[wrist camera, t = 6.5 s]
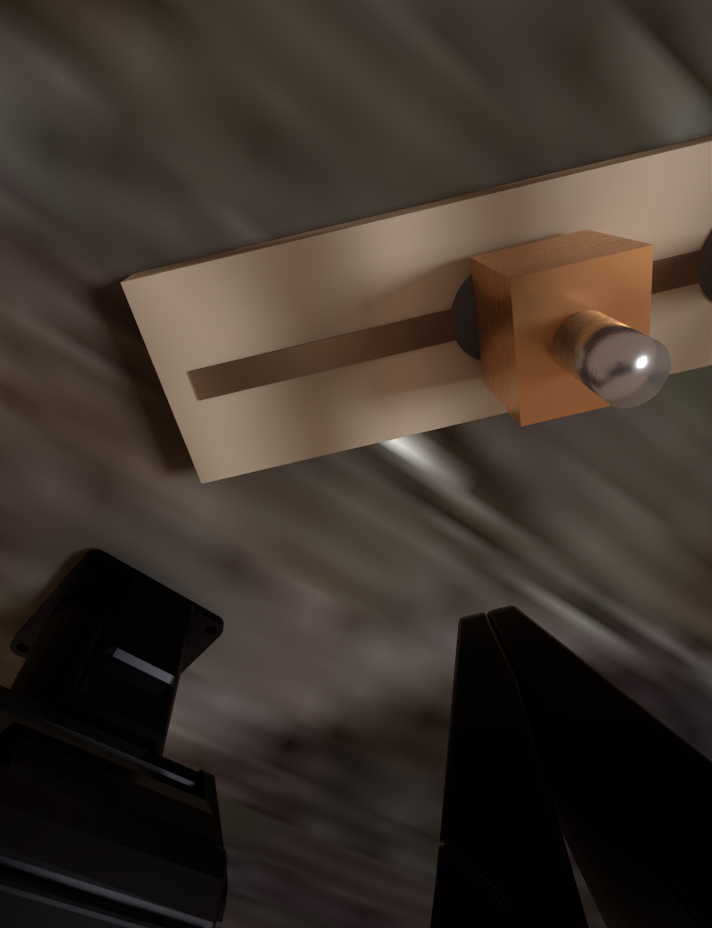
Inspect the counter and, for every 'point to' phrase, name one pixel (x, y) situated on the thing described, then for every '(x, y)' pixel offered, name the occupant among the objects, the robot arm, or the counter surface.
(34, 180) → the counter surface
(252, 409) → the bolt plate
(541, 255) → the orange slider block
